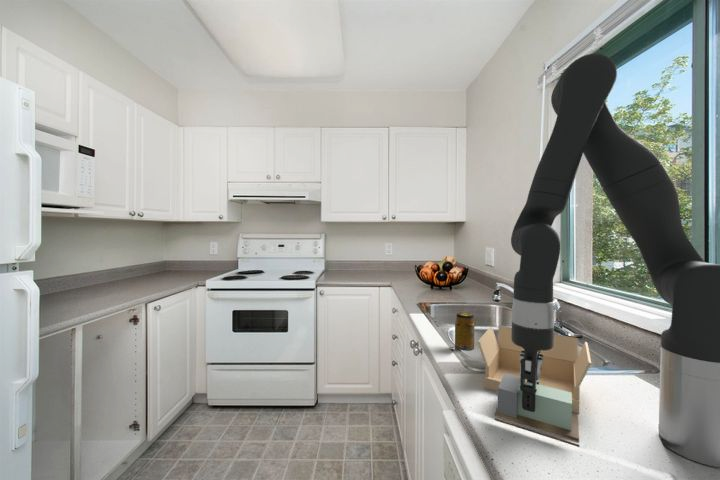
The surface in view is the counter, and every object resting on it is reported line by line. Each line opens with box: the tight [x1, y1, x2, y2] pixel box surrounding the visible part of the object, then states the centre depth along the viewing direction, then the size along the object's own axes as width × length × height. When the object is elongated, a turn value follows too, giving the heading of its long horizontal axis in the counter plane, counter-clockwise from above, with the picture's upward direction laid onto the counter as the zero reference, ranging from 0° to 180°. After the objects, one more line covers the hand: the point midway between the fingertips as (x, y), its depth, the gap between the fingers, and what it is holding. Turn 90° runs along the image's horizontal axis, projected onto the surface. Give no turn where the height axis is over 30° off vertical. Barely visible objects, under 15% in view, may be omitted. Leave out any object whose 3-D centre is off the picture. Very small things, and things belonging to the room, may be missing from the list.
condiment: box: [448, 311, 475, 352], centre depth 100 cm, size 7×8×12 cm
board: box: [494, 408, 580, 448], centre depth 63 cm, size 14×9×2 cm, turn 56°
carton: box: [477, 325, 592, 415], centre depth 76 cm, size 22×18×12 cm
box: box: [496, 374, 573, 430], centre depth 63 cm, size 12×8×5 cm, turn 56°
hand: (530, 400), depth 63 cm, fingers open, 8 cm apart
